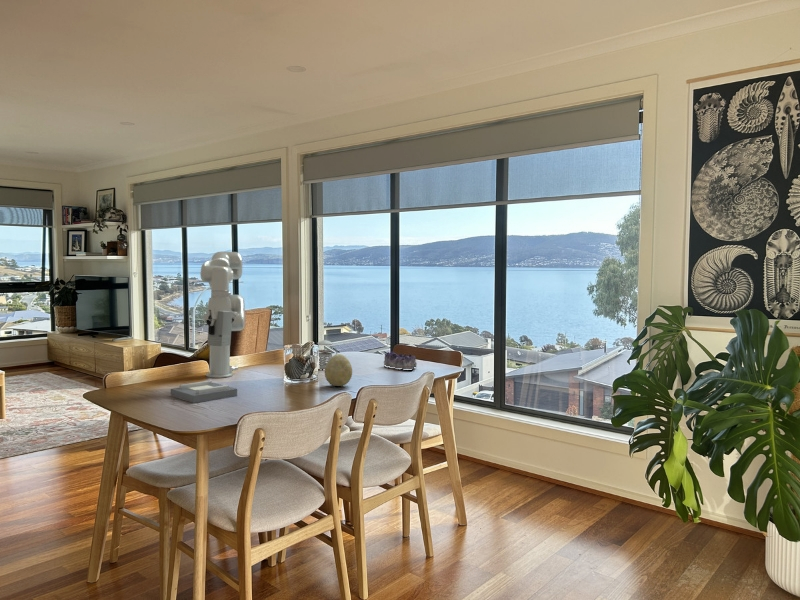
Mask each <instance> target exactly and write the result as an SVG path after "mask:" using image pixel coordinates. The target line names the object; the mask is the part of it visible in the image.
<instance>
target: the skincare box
mask: <svg viewBox="0 0 800 600" xmlns="http://www.w3.org/2000/svg"><path fill="white" fill-rule="evenodd" d="M210 318H211V315H210V316H209V319H210ZM207 326H208V328H207V340H206V341H207V343H206V344H207V346H210V345H211V346H229V345H230V346H231V341H232V331H231V327H232V311H218V319H217V320H215V322H214V324H213V326H214V335H210V334H209V332H208V330H209V325H207Z"/></svg>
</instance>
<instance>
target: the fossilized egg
mask: <svg viewBox="0 0 800 600" xmlns="http://www.w3.org/2000/svg"><path fill="white" fill-rule="evenodd" d="M327 361H328V360H327ZM326 363H327V364H326V366H325V370H324V377H325V380H326V381H327V383H329V385H331V386H332V387H335V386H341V387H344V386H345V385H347V384H348V383H349V382H350V381H351V379H352V376H353V367H352V364H351V362H350V360H349V359H348V358H347V357H346V356H345V355H343V354H340V353H337V354H336V353H335V354H334V355H332V357H331V358H330V359H329V361H328V362H326ZM343 385H344V386H343Z"/></svg>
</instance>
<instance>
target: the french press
mask: <svg viewBox="0 0 800 600" xmlns="http://www.w3.org/2000/svg"><path fill="white" fill-rule="evenodd" d="M323 325H324V326H327V325H328V323H327V322H325V321H324V322H323ZM317 345H318V346H330V348H331V349H334V350H335V355H336V354H338V349H337V348H336V347H335V346H334V345H333V342H332V341H330V340H327V339H323V340H320V341H318V342H317ZM331 349H319V352H318V353H319V357H320V359H319V361H320V362H319V363H320V364H319V365H320V369H325V366H326V364H327V362H328V361H329V359H330V358H331V357H333V353H332V350H331Z"/></svg>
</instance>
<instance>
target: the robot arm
mask: <svg viewBox="0 0 800 600" xmlns="http://www.w3.org/2000/svg"><path fill="white" fill-rule="evenodd" d="M242 275H243V257H242V255H241V254H240V253H239V252H237V251H216V252H215V253H214V254H213V255H212V257H211V260H207V261H204V262H203V263H202V264H201V267H200V279H201V281H202V282H203V283H207V284H209V287H210V289H211V290H210V291H211V292H210V295H211V297H209V298H208V301H207V302H208V303H207V310H206V313H205V314H204V315H203V316H202V319H203V320H204V322H205V324H206V325H207V326H209V330H208V329H207V333H208V332H209V334H210V335H214V326H213V324H214V322H215V320H217V319H218V311H232V327H231V332H239V331H242V330H244V329H245V326H246V307H245V299H244V297H243V296H242V295H240V294H232V292H231V291H230V282H231V281H232V280H239V279H240V278H241V277H242ZM210 315H211V318H210V319H209V316H210ZM230 352H231V344H230V345H229V346H211V345H209V371H208V372H207V373H206V377H207V378H215V379H217V378H219V379H221V378H222V379H223V378H229V377H232V376H233V375H234V373H233V371H238V370H239V366H236V365H235V366H231V364H230V362H231V361H230V360H231V359H230V357H231V355H230V354H231V353H230Z"/></svg>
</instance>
